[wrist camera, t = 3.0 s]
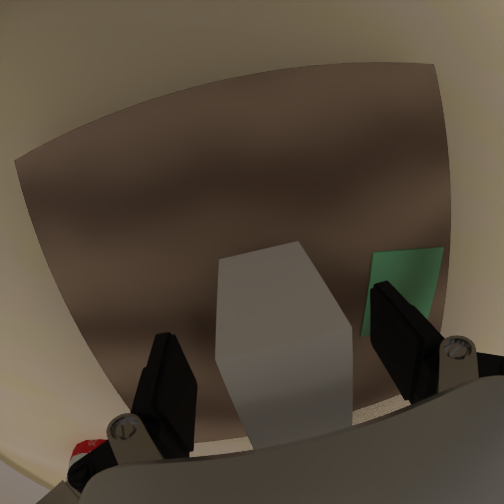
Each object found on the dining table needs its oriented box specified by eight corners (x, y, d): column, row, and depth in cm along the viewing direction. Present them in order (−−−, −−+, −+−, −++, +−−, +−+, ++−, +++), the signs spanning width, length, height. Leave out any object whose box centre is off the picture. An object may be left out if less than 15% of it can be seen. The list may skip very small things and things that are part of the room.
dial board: (36, 155, 12) (13, 160, 10) (412, 69, 12) (435, 64, 10) (160, 424, 20) (157, 446, 18) (417, 364, 20) (430, 382, 18)
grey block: (219, 247, 12) (214, 359, 6) (291, 231, 12) (351, 327, 6) (271, 422, 17) (287, 515, 11) (318, 411, 17) (345, 501, 11)
